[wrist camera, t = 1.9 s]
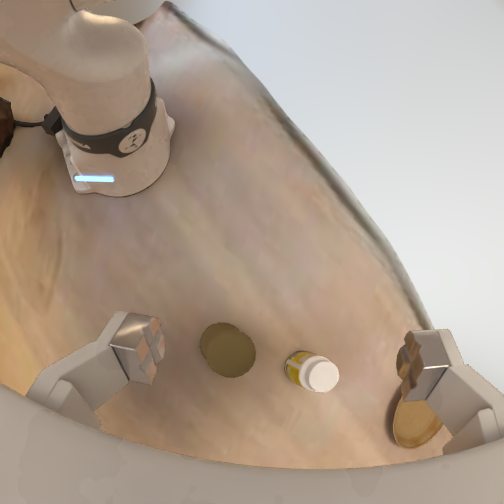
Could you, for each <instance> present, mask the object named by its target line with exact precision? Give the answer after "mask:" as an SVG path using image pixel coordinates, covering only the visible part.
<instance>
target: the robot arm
mask: <svg viewBox="0 0 504 504" xmlns="http://www.w3.org/2000/svg"><path fill="white" fill-rule="evenodd" d="M110 1H114V0H0V63H2V64H5V65H8V66H11V67H13V68H15V69H18V70H20V71H22V72H23V73H25V74H27V75H29V76H30V77H32V78H33V79H35V80H36V81H37V82H38V83H39V84H40V85H41V86H42V87H43V88H44V89H45V91H46V92H47V94H48V95H49V97H50V98H51V100H52V101H53V103H54V104H55V107H54V108H53V109H52V111H51V112H50V113H49V114H46V115H45V116H44V121H43V122H38V123H28V122H20V121H15V120H14V122H13V124H14V125H17V126H23V127H34V126H42V127H43V128H44V130H45V131H46V133H47V134H50V135H52V136H55V137H56V139H57V141H58V143H59V145H60V146H61V147H62V150H63V154H64V158H65V161H66V165H67V168H68V171H69V174H70V178H71V181H72V184H73V187H74V189H75V191H76V192H77V193H79V194H86V193H92V192H96V193H100V194H103V195H107V196H113V197H121V196H128V195H132V194H135V193H137V192H140V191H142V190H144V189H145V188H147V187H148V186H150V185H151V184H152V183H153V182H155V181H156V180H157V179H158V177H159V176H160V175H161V174H162V172H163V171H164V169H165V167H166V165H167V162H168V159H169V155H170V138H171V136H172V134H173V132H174V130H175V121H174V120H173V119H172V118H171V117H170V116H168V115H167V114H166V109H165V104H164V101H163V99H159V98H158V97H157V93H156V89H155V86H154V83H153V80H152V79H151V77H150V71H149V60H148V48H147V42H146V40H145V37H144V36H143V34H142V33H141V32H140V31H139V30H138V29H137V28H136V27H135V26H133V25H132V24H130V23H129V22H127V21H125V20H123V19H120V18H117V17H111V16H103V15H96V14H92V13H89V12H86V11H84V10H83V9H86V8H90V7H93V6H96V5H100V4H103V3H107V2H110ZM160 326H161V324H160V321H159V318H157V317H154V316H148V315H142V314H136V313H129V312H123V311H117V312H115V313H114V315H113V316H112V318H111V319H110V321H109V322H108V324H107V325H106V327H105V328H104V330H103V331H102V333H101V334H100V336H99V337H98V339H97V340H96V342H90V343H89V344H87V345H85V346H83V347H82V348H80V349H78V350H76V351H75V352H73V353H71V354H69V355H67V356H66V357H64V358H62V359H60V360H59V361H57V362H55V363H53V364H52V365H50V366H48V367H46V368H45V369H43V370H42V371H41V372H40V374H39V375H38V377H37V378H36V380H35V381H34V383H33V385H32V386H31V388H30V389H29V391H28V392H27V394H26V396H23V395H22V394H20V393H18V392H16V391H15V390H13V389H11V388H9V387H8V386H6V385H4V384H3V383H1V382H0V504H504V395H503V394H502V393H501V392H500V391H499V390H498V389H496V388H495V387H494V386H493V385H492V384H491V383H490V382H488V381H487V380H486V379H485V378H484V377H482V376H481V375H480V374H479V373H478V372H476V371H475V370H474V369H473V368H472V367H471V366H469V365H468V364H467V365H465V364H464V362H463V360H462V357H461V354H460V352H459V350H458V347H457V345H456V343H455V340H454V338H453V336H452V334H451V332H450V330H448V329H439V330H419V331H409V332H408V333H407V334H406V336H405V338H404V341H405V345H404V346H403V347H401V348H400V350H399V352H398V355H397V361H396V368H397V374H398V376H399V377H400V378H401V379H402V380H403V381H402V383H401V385H400V388H401V392H402V397H403V402H408V401H421V400H426V401H425V402H426V403H427V404H428V405H429V407H430V408H431V409H432V410H433V412H434V413H435V414H436V415H437V416H438V418H439V419H440V420H441V421H442V423H443V424H444V425H445V426H446V428H447V429H448V430H449V431H450V433H451V434H452V435H453V438H452V439H451V440H450V441H449V442H448V443H447V444H445V446H444V447H443V454H444V455H443V456H438V457H433V458H428V459H423V460H417V461H412V462H405V463H398V464H391V465H382V466H373V467H361V468H344V469H290V468H272V467H260V466H250V465H241V464H234V463H226V462H220V461H214V460H208V459H202V458H197V457H192V456H187V455H183V454H178V453H174V452H170V451H165V450H161V449H158V448H154V447H150V446H147V445H143V444H140V443H136V442H133V441H130V440H127V439H123V438H120V437H117V436H114V435H112V434H109V433H106V432H103V431H100V430H99V429H100V427H101V425H102V423H101V420H100V419H99V418H98V417H97V416H96V414H95V413H94V412H93V411H95V410H96V409H97V408H98V407H100V406H101V405H102V404H103V403H105V402H106V401H107V400H108V399H109V398H111V397H112V396H113V395H114V394H116V393H117V392H118V391H119V390H121V389H122V388H123V387H124V386H125V385H127V384H128V383H129V381H132V382H137V383H142V384H147V385H151V384H152V382H153V380H154V377H155V375H156V373H157V371H158V370H157V367H156V364H157V363H159V362H160V361H162V359H163V356H164V354H165V348H166V342H165V337H164V334H163V333H161V332H160V331H159V328H160Z"/></svg>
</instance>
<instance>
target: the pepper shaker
mask: <svg viewBox="0 0 504 504" xmlns="http://www.w3.org/2000/svg"><path fill="white" fill-rule="evenodd" d="M200 348H201V352H202V354H203V356H204V357H205V358H206V360H208V364H209V365H210V367H211V368H212V370H213V371H215V372H216V373H217V374H219V375H221V376H224V377H231V378H235V377H238V376H242V375H243V374H245V373H246V372H248V371H249V370H250V368H251V367H252V366H253V364H254V361H255V356H256V350H255V346H254V343H253V342H252V340H251V339H250V337H248V336H247V335H246V334H244V333H243V332H240V331H239V330H238V329H237V328H236V327H235V326H233V325H231V324H228V323H216V324H213V325H211V326H210V327H208V328H207V329H206V330H205V331H204V333H203V334H202V337H201V339H200Z"/></svg>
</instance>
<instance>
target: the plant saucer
mask: <svg viewBox="0 0 504 504" xmlns="http://www.w3.org/2000/svg"><path fill="white" fill-rule="evenodd" d="M425 401H426V400H421V401H408V402H403V397H401V398H400V400H399V402H398V404H397V407H396V409H395V413H394V418H393V434H394V438H395V440H396V442H397V444H398V445H399V446H400V447H402V448H404V449H416V448H419V447H421V446H423V445H425V444H426V443H428V442H429V441H430V440H431V439H432V438H433V437H434V436H435V435H436V434H437V433H438V431H439V430H440V429H441V427H442V425H443V423H442V421H441V420H440V419H439V418H438V416H437V415H436V414H435V413H434V412H433V410H432V409H431V408H430V407H429V405H428V404H427V403H426V402H425Z"/></svg>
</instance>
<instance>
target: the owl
mask: <svg viewBox="0 0 504 504" xmlns="http://www.w3.org/2000/svg"><path fill="white" fill-rule="evenodd" d="M13 122H14V118H13V113H12V110H11V102H9V101H7V100H5V99H3V98H1V97H0V158H1V157H2V155H3V152H4V150H5V149H6V147H8V146H9V145H10V143H11V139H12V138H13V130H14V127H15V125H14V124H13Z"/></svg>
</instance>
